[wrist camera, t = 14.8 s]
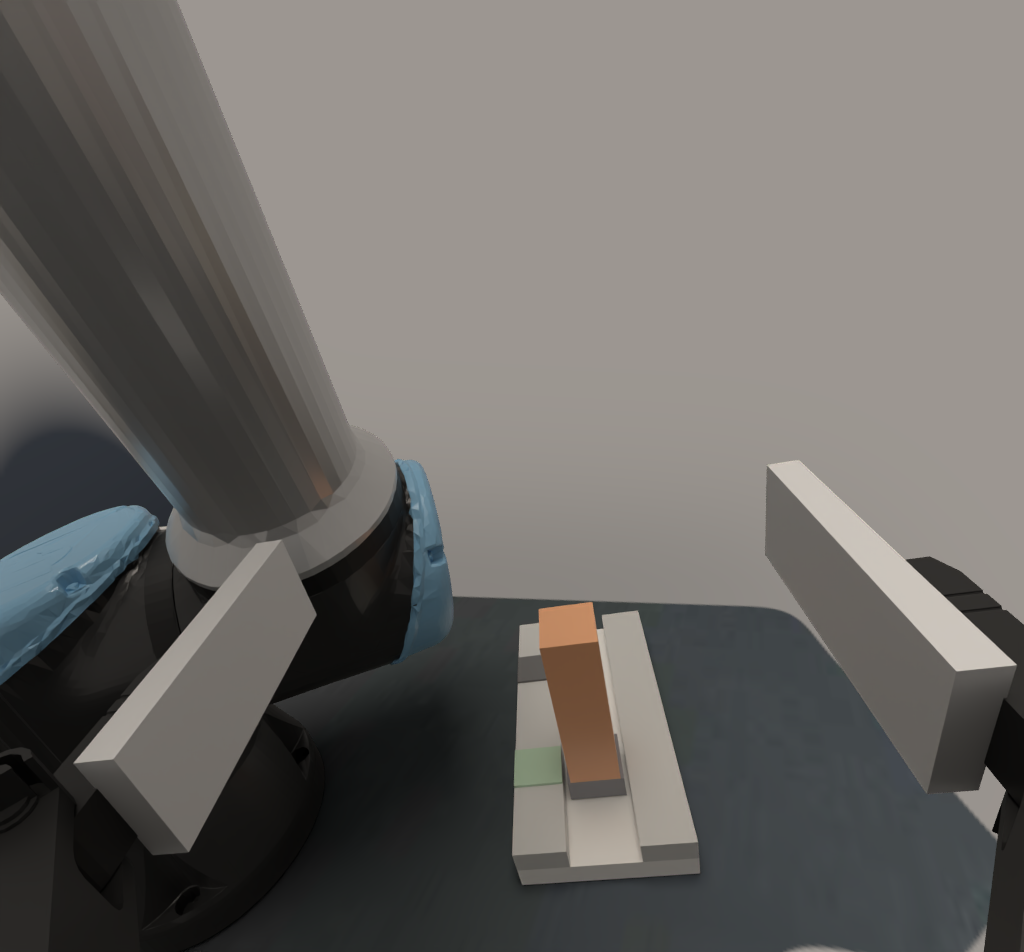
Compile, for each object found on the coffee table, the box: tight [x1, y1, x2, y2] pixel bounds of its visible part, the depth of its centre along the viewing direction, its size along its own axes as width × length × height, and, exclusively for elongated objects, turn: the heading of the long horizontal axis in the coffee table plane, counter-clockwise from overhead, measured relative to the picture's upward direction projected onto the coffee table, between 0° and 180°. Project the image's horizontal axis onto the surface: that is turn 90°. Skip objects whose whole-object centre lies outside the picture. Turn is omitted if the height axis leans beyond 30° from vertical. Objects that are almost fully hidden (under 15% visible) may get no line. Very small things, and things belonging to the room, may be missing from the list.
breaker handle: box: [539, 602, 627, 799], centre depth 31 cm, size 3×3×13 cm
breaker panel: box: [512, 611, 700, 885], centre depth 37 cm, size 18×10×3 cm, turn 178°
